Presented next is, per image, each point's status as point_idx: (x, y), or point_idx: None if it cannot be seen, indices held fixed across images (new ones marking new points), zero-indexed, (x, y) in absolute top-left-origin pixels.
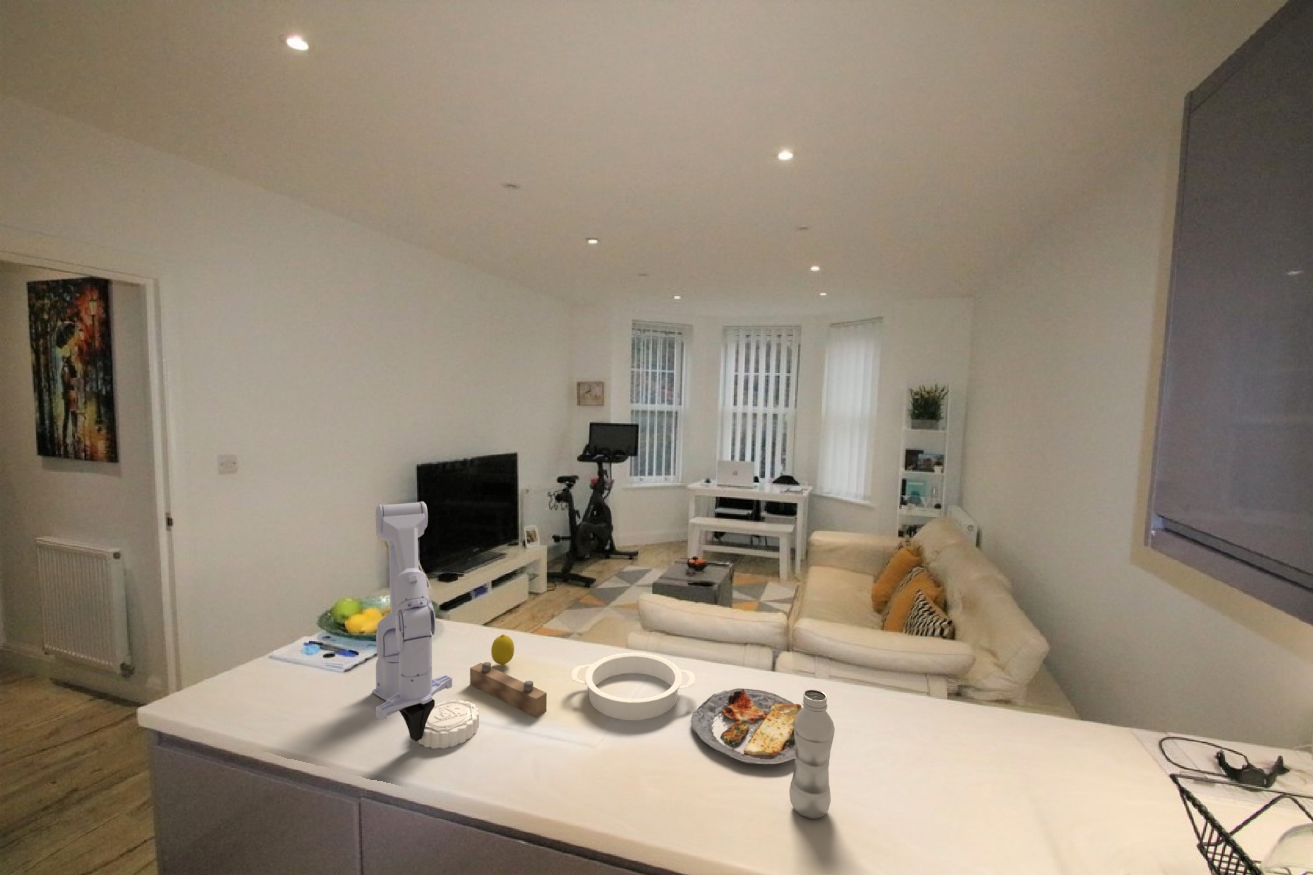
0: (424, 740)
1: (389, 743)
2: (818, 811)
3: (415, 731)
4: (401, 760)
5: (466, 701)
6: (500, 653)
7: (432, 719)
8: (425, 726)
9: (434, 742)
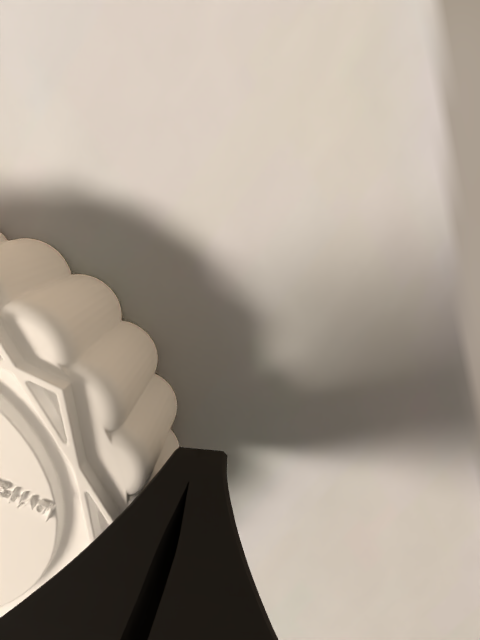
0: (168, 425)
1: (274, 572)
2: None
3: (233, 514)
4: (340, 411)
5: None
6: None
7: (18, 537)
8: (106, 513)
9: (134, 352)
